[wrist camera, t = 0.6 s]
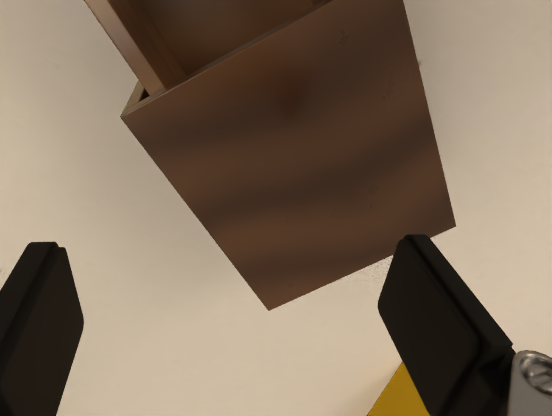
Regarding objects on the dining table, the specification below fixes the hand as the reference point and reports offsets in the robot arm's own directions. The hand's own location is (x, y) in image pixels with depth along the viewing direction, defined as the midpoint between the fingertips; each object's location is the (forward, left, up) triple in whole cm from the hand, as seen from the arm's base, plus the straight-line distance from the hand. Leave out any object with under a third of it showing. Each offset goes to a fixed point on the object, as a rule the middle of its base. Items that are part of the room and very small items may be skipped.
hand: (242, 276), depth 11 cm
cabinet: (-2, +4, -18) cm, 19 cm away
